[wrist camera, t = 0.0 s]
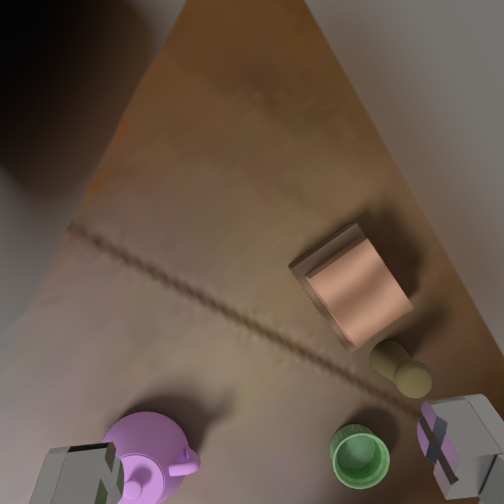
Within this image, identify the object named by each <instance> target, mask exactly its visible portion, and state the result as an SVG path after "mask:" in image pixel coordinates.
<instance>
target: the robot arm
mask: <svg viewBox="0 0 504 504" xmlns="http://www.w3.org/2000/svg"><path fill="white" fill-rule="evenodd" d="M421 411H422V413H423V415H424V416H423V417H421V418H420V419H419V420H418V425H417V434H418V440H419V443H420V446H421V449H422V451H423V453H424V455H425V457H426V458H427V459H429V460H430V461H431V462H433V463H434V464H435V468H434V473H433V474H434V476H435V478H436V480H437V482H438V484H439V486H440V488H441V490H442V493H443V495H444V497H445V499H446V500H449V499H459V498H468V497H477V496H480V497H479V499H480V500H482V501H483V502H484V503H485V504H504V422H503V420H502V419H501V417H500V416H499V415H498V413H497V412H496V410H495V409H494V408H493V406H492V405H491V403H490V402H489V401H488V399H487V398H486V397H485V396H484V395H482V394H474V395H467V396H456V397H449V398H442V399H435V400H428V401H425V402H424V403H422V407H421ZM115 454H116V447H115V445H114V443H113V441H112V442H104V443H95V444H87V445H78V446H68V447H60V448H53V449H50V451H49V452H48V454H47V455H46V457H45V460H44V463H43V465H42V468H41V471H40V474H39V477H38V480H37V482H36V485H35V488H34V491H33V494H32V497H31V500H30V502H29V504H118V502H119V501H120V500H121V499H122V496H123V489H124V468H123V464H122V461H121V459H120V458H118V457H116V456H115Z"/></svg>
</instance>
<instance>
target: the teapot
mask: <svg viewBox="0 0 504 504" xmlns="http://www.w3.org/2000/svg"><path fill="white" fill-rule="evenodd" d="M112 441H113V443H114V445H115V447H116V454H115V456H116V457H118V458H120V459H121V461H122V464H123V468H124V489H123V496H122V499H121V500H120V501H119V502H118V504H159V503H161V502H162V501H164V500H165V499H167V498H168V497H169V496H170V495H171V494H172V493H173V492H174V491H175V490H176V489H177V488H178V486H179V485H180V483H181V482H182V480H183V478H184V476H185V475H187V474H191V473H194V472H196V471H197V470H198V469H199V468H200V464H201V463H200V458H199V456H198V455H197V453H195V452H194V451H193V450H192V449H191V448H189V445H188V441H187V439H186V436H185V434H184V433H183V431H182V429H181V428H180V427H179V426H178V424H176V423H175V422H174V421H173V420H172V419H170V418H169V417H167V416H165V415H162V414H159V413H155V412H138V413H134V414H130V415H128V416H126V417H124V418H122V419H120V420H119V421H117V422H116V423H115V424H114V425H113V426H112V427H111V428H110V429H109V430H108V432H107V433H106V435H105V437H104V439H103V441H102V443H104V442H112Z"/></svg>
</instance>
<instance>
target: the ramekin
mask: <svg viewBox="0 0 504 504" xmlns="http://www.w3.org/2000/svg"><path fill="white" fill-rule="evenodd" d="M330 454H331V458H332V461H333V468H334V471H335V474H336V476H337V477H338V479H339V480H340V481H341V482H342V483H343V484H345V485H346V486H348V487H351V488H354V489H366V488H369V487H372V486H374V485H376V484H377V483H379V482H380V481H381V480H382V479H383V478H384V476H385V475H386V473H387V471H388V468H389V464H390V456H389V452H388V449H387V447H386V445H385V444H384V442H383V441H382V440H381V439H380V438H378V437H377V436H376V435H375V434H374V433H373V432H372V431H371V430H370V429H368V428H367V427H365V426H363V425H360V424H350V425H347V426H344V427H342V428H341V429H339V430H338V431H337V432H336V433H335V435H334V436H333V438H332V440H331V443H330Z"/></svg>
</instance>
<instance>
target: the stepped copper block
mask: <svg viewBox="0 0 504 504" xmlns="http://www.w3.org/2000/svg"><path fill="white" fill-rule="evenodd" d="M288 267H289V269H290V270H291V272H292V273H293V275H294V276H295V277H296V279H297V280H298V282H299V283H300V285H301V286H302V288H303V289H304V290H305V292H306V293H307V295H308V296H309V298H310V299H311V301H312V302H313V304H314V305H315V306H316V308H317V309H318V311H319V312H320V314H321V315H322V317H323V318H324V320H325V321H326V322H327V324H328V325H329V327H330V328H331V330H332V331H333V333H334V334H335V336H336V337H337V338H338V340H339V341H340V343H341V344H342V346H343V347H344V348H345V349H346V350H347V351H348V352H349V353H350V354H351V353H352V352H354V351H355V350H357V349H358V348H360V347H361V346H362V345H364V344H365V343H367V342H368V341H370V340H371V339H372V338H374V337H375V336H377V335H378V334H380V333H381V332H382V331H384V330H385V329H387V328H388V327H390V326H391V325H392V324H394V323H395V322H397V321H398V320H400V319H401V318H402V317H404V316H405V315H407V314H408V313H410V312H411V311H412V310H414V308H413V306H412V304H411V303H410V301H409V300H408V298H407V297H406V295H405V294H404V292H403V291H402V289H401V288H400V286H399V285H398V283H397V282H396V280H395V279H394V277H393V276H392V274H391V273H390V271H389V270H388V268H387V267H386V265H385V264H384V262H383V261H382V259H381V258H380V256H379V255H378V253H377V252H376V250H375V249H374V247H373V246H372V244H371V243H370V241H369V240H368V238H367V237H366V236H365V234H364V233H363V231H362V230H361V228H360V227H359V225H358V224H357V223H349V224H347V225H346V226H345V227H343V228H342V229H340V230H339V231H337V232H336V233H335V234H333V235H332V236H330V237H329V238H327V239H326V240H324V241H323V242H322V243H320V244H319V245H317V246H316V247H314V248H313V249H312V250H310V251H309V252H307V253H306V254H304V255H303V256H302V257H300V258H299V259H297V260H296V261H294V262H293V263H291V264H290V265H289V266H288Z"/></svg>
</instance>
